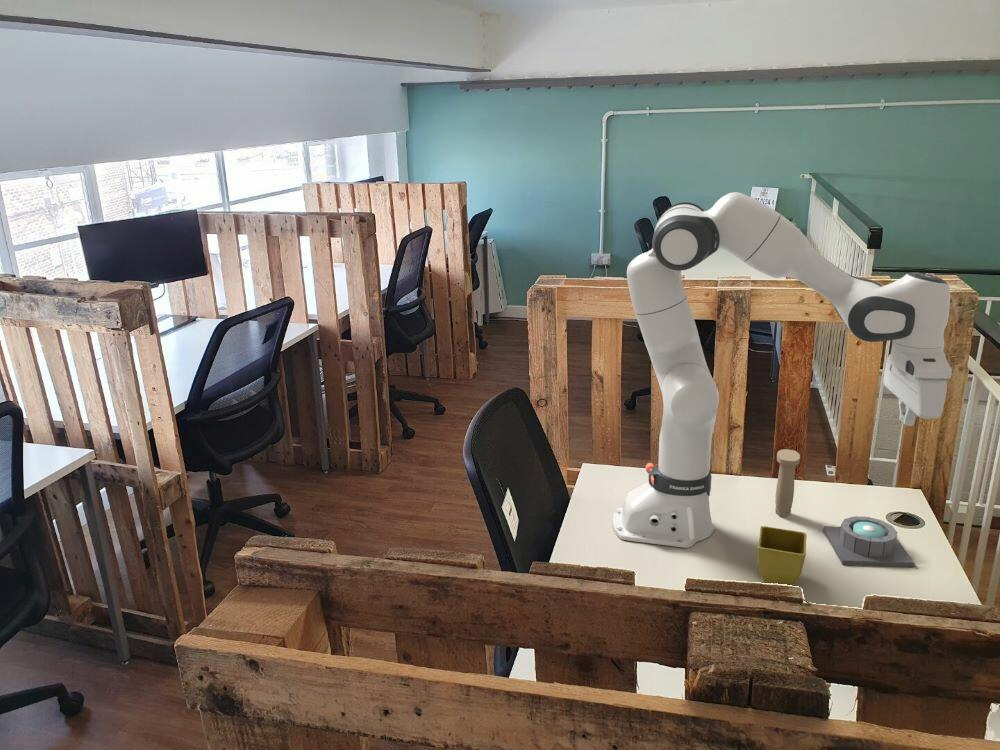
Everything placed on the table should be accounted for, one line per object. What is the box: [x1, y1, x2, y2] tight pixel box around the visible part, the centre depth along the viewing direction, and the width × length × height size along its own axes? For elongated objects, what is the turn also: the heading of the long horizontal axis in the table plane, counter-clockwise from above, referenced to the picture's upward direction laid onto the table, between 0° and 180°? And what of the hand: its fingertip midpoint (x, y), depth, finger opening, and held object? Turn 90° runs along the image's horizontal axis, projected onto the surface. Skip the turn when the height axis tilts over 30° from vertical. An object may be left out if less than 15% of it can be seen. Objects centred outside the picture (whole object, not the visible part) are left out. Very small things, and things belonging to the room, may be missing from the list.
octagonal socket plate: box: [822, 515, 916, 568], centre depth 163 cm, size 14×14×5 cm
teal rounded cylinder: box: [853, 522, 885, 538], centre depth 163 cm, size 6×6×4 cm
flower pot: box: [757, 525, 807, 586], centre depth 153 cm, size 9×9×9 cm
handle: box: [774, 449, 801, 518], centre depth 177 cm, size 5×6×15 cm
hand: (906, 423), depth 154 cm, fingers closed
